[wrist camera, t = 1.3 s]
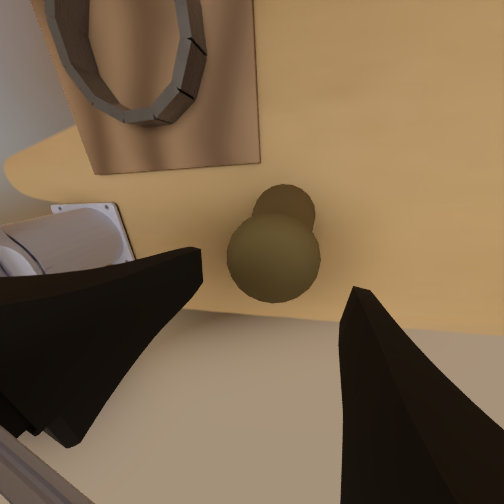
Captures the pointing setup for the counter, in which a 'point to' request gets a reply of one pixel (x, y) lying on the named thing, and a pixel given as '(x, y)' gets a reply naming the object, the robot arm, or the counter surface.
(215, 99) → the walnut mat
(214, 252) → the counter surface
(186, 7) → the collar
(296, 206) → the cork
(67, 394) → the robot arm
